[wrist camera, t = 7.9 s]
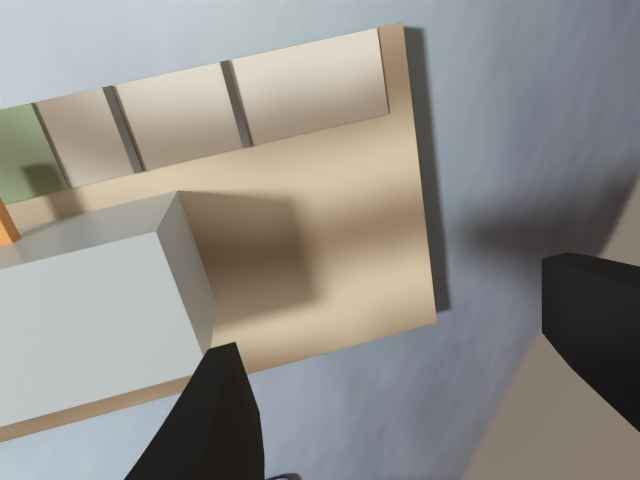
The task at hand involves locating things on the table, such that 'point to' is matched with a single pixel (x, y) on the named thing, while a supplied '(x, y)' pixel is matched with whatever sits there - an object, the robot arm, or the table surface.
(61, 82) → the table surface
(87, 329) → the light grey block
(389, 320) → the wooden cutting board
